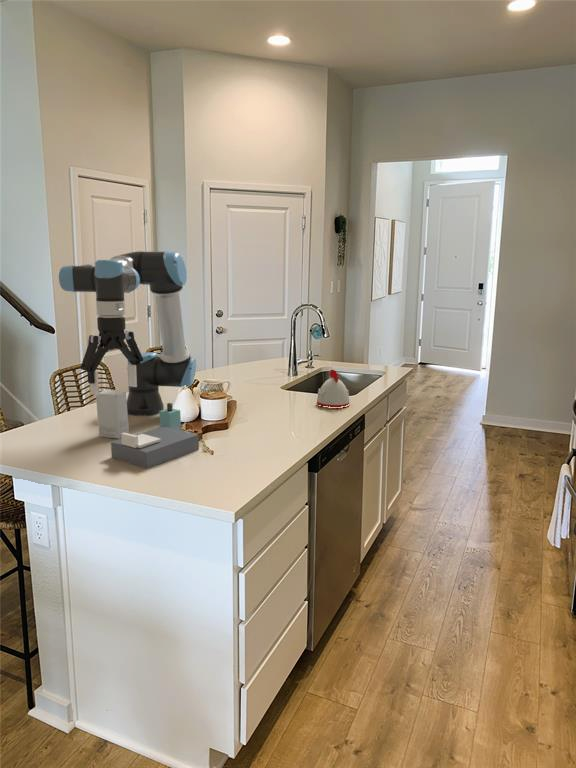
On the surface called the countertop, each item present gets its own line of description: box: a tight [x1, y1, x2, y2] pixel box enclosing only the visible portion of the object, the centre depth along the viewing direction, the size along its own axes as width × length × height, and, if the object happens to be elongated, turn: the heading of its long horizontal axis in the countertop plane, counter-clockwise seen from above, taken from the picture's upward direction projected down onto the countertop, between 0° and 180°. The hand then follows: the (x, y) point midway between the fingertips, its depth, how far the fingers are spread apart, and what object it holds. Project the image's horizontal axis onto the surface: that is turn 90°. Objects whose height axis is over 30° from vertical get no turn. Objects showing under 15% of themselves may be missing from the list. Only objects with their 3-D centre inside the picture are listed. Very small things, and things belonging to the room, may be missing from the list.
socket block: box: [110, 426, 200, 469], centre depth 185 cm, size 16×22×5 cm
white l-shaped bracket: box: [120, 432, 161, 448], centre depth 179 cm, size 8×9×3 cm
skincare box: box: [95, 389, 130, 440], centre depth 201 cm, size 8×7×16 cm
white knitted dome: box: [316, 369, 350, 407], centre depth 249 cm, size 14×14×15 cm
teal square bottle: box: [158, 402, 182, 430], centre depth 203 cm, size 5×5×12 cm
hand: (114, 390), depth 168 cm, fingers open, 13 cm apart
